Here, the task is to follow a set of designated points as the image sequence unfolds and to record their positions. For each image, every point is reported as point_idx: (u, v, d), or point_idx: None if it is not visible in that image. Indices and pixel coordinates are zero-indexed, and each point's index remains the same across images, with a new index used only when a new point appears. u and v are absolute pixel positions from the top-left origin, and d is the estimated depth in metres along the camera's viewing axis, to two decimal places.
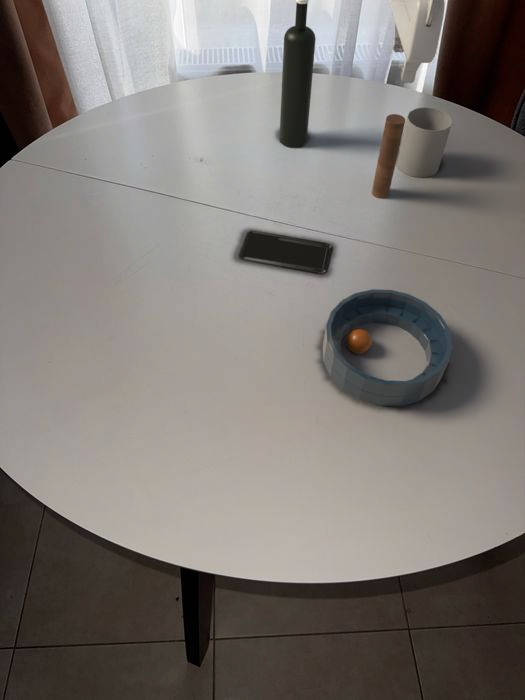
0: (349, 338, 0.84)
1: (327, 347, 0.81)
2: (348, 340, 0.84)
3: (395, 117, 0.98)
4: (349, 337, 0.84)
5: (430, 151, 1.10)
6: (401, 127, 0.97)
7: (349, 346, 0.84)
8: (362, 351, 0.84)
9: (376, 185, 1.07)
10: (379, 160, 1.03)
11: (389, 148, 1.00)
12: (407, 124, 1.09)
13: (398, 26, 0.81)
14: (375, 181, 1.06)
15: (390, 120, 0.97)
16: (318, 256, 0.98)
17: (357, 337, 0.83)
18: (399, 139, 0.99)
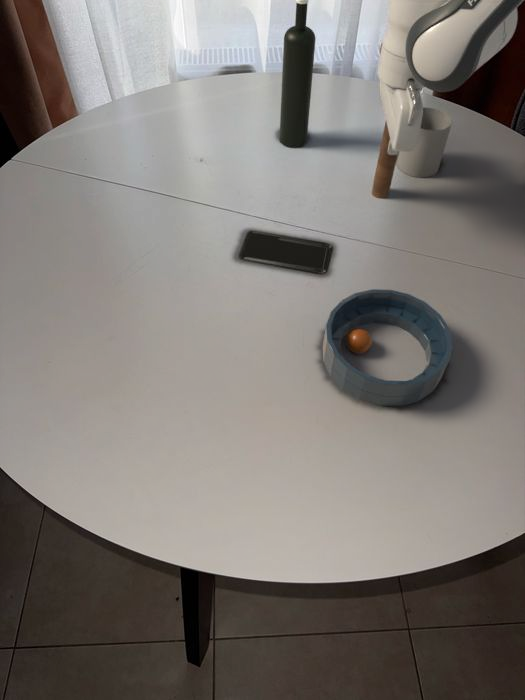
0: (349, 338, 0.84)
1: (327, 347, 0.81)
2: (348, 340, 0.84)
3: None
4: (349, 337, 0.84)
5: (430, 151, 1.10)
6: None
7: (349, 346, 0.84)
8: (362, 351, 0.84)
9: (375, 185, 1.07)
10: (379, 160, 1.03)
11: None
12: None
13: (386, 116, 0.96)
14: (375, 181, 1.06)
15: None
16: (318, 256, 0.98)
17: (357, 337, 0.83)
18: None
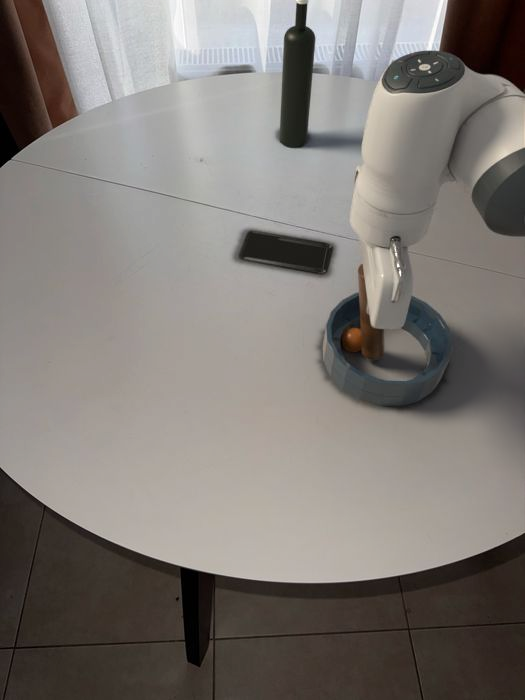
0: (341, 339, 0.84)
1: (327, 347, 0.81)
2: (341, 341, 0.85)
3: None
4: (341, 338, 0.85)
5: None
6: None
7: (344, 347, 0.84)
8: (357, 348, 0.83)
9: (363, 341, 0.80)
10: (360, 315, 0.77)
11: None
12: None
13: (364, 269, 0.70)
14: (361, 336, 0.80)
15: (362, 272, 0.71)
16: (318, 256, 0.98)
17: (347, 335, 0.83)
18: None
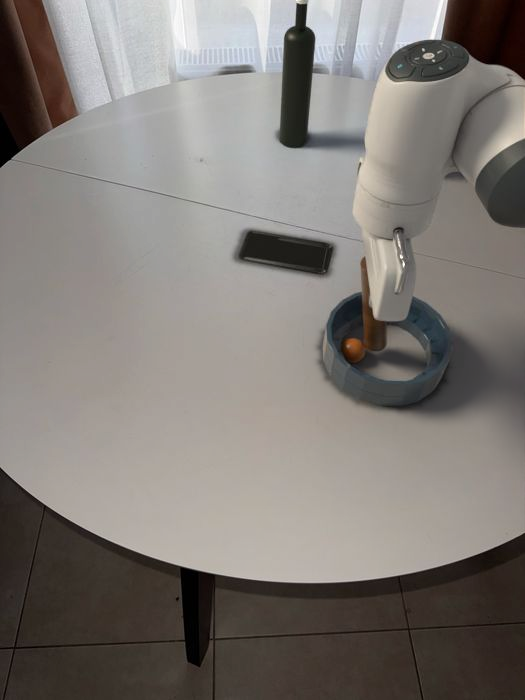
0: None
1: (327, 347, 0.81)
2: None
3: None
4: None
5: None
6: None
7: None
8: None
9: (366, 333, 0.80)
10: (363, 307, 0.77)
11: None
12: None
13: (366, 261, 0.70)
14: (364, 328, 0.80)
15: (365, 265, 0.71)
16: (318, 256, 0.98)
17: (347, 358, 0.82)
18: None
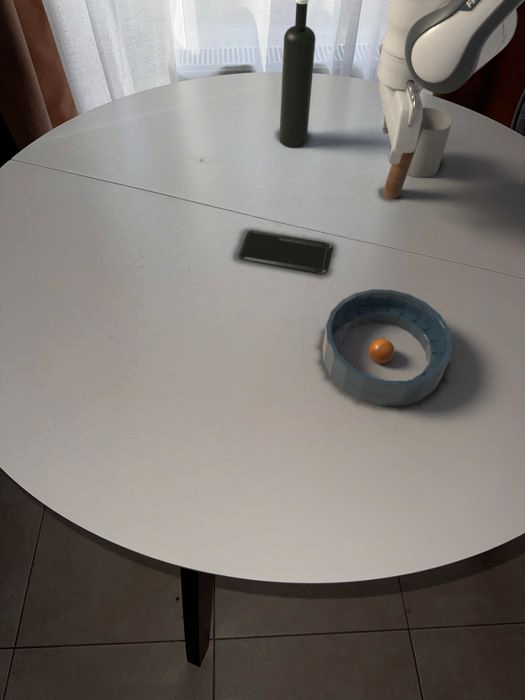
0: (388, 348, 0.82)
1: (327, 347, 0.81)
2: (386, 347, 0.82)
3: None
4: (389, 348, 0.82)
5: (430, 151, 1.10)
6: (420, 127, 0.97)
7: (380, 346, 0.82)
8: (371, 356, 0.83)
9: (388, 184, 1.06)
10: None
11: None
12: None
13: (386, 118, 0.96)
14: (388, 180, 1.06)
15: None
16: (318, 256, 0.98)
17: (388, 357, 0.82)
18: None
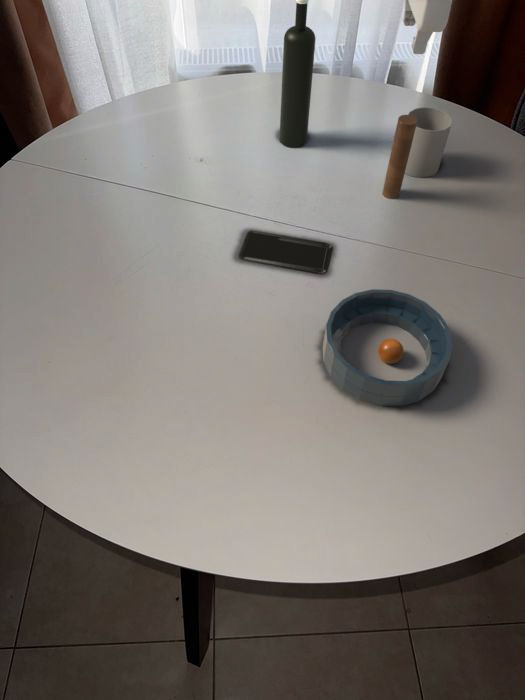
0: (402, 352, 0.82)
1: (327, 347, 0.81)
2: (402, 350, 0.82)
3: (408, 117, 0.98)
4: (402, 352, 0.83)
5: (430, 151, 1.10)
6: (412, 128, 0.97)
7: (398, 347, 0.82)
8: (384, 352, 0.82)
9: (386, 185, 1.07)
10: (390, 160, 1.03)
11: (400, 149, 1.00)
12: None
13: None
14: (386, 181, 1.06)
15: (401, 120, 0.97)
16: (318, 256, 0.98)
17: (397, 360, 0.83)
18: (410, 140, 0.99)
